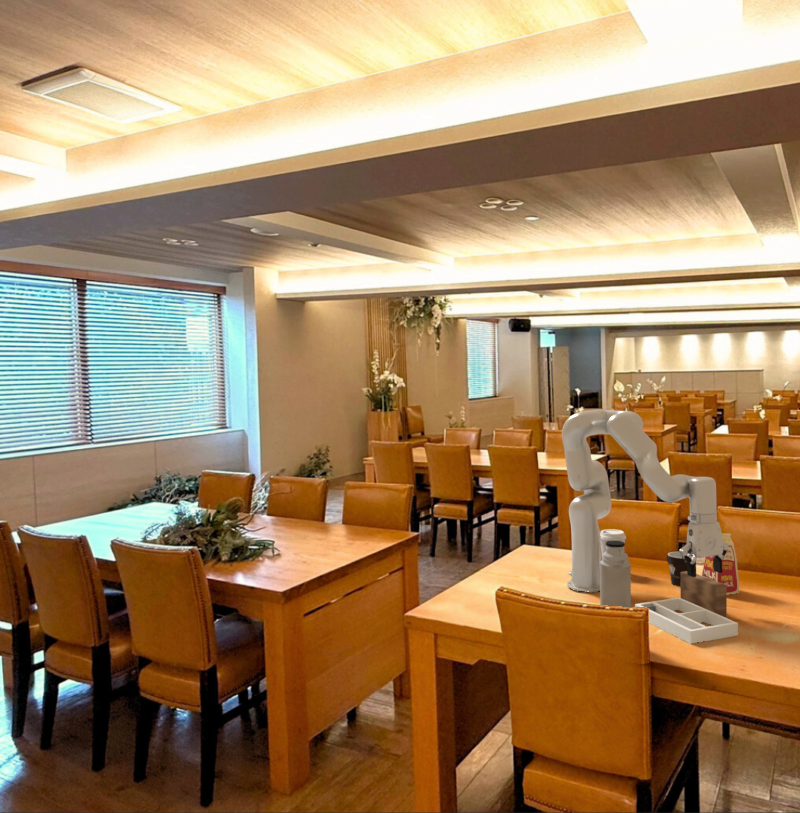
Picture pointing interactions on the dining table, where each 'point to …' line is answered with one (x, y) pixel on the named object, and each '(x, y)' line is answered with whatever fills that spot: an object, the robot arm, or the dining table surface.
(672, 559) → the coffee mug
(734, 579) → the milk carton
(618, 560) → the thermos bottle
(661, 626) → the white compartment tray
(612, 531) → the coffee cup
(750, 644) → the dining table surface
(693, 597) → the brown wooden block
